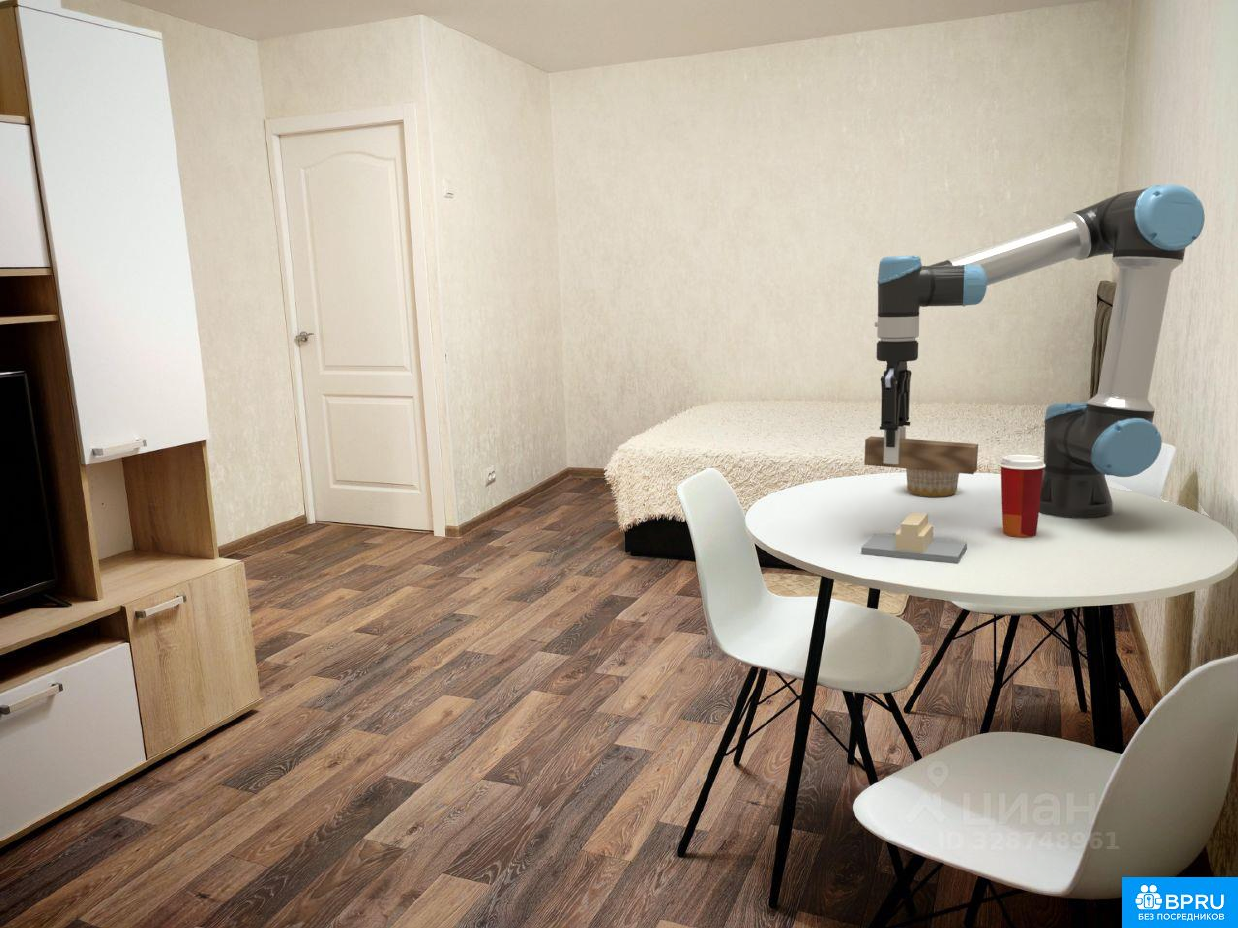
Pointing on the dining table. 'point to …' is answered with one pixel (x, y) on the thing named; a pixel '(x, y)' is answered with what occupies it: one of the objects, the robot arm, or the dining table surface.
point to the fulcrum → (915, 543)
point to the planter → (931, 482)
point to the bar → (925, 455)
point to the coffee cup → (1021, 494)
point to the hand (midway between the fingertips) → (894, 461)
